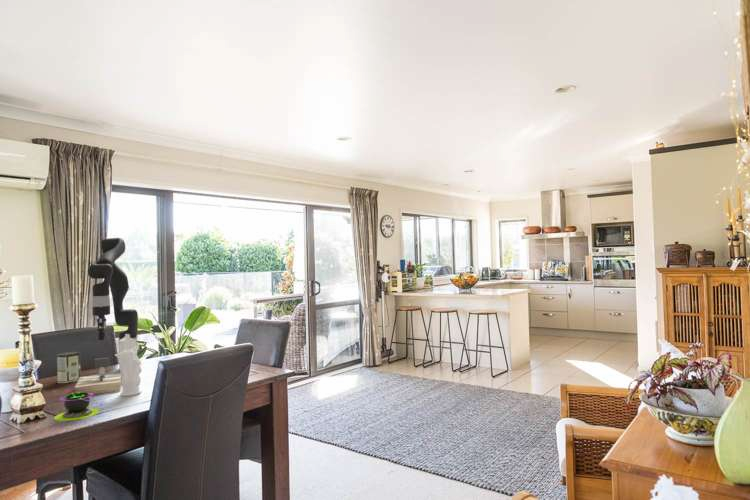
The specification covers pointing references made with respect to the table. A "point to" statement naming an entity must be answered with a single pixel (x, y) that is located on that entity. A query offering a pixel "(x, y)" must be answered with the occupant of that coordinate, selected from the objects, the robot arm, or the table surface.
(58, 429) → the table surface
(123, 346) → the milk
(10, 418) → the table surface
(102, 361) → the lever
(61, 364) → the grey-green carton
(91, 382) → the dial board
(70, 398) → the toy cauldron
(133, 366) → the cherub figurine
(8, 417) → the table surface
